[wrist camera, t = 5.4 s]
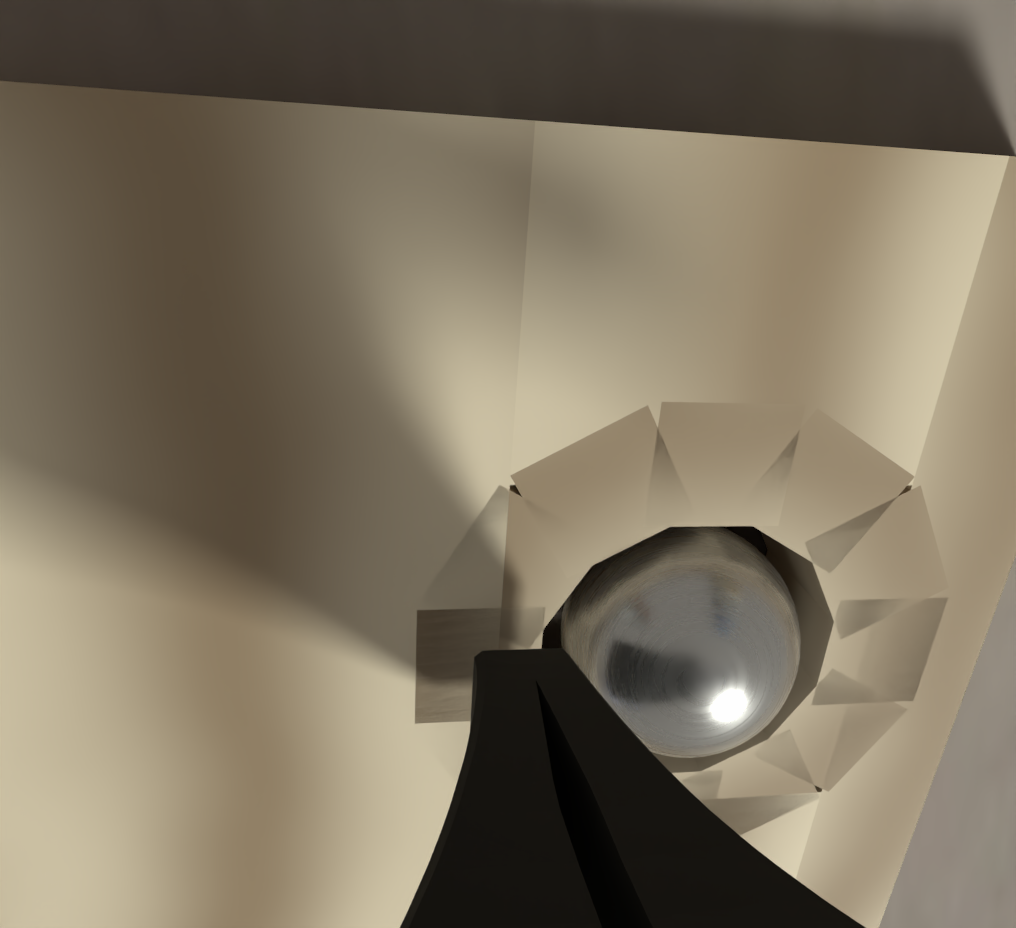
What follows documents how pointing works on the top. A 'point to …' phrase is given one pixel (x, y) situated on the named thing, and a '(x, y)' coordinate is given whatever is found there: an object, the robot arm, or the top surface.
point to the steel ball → (686, 639)
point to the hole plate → (462, 475)
